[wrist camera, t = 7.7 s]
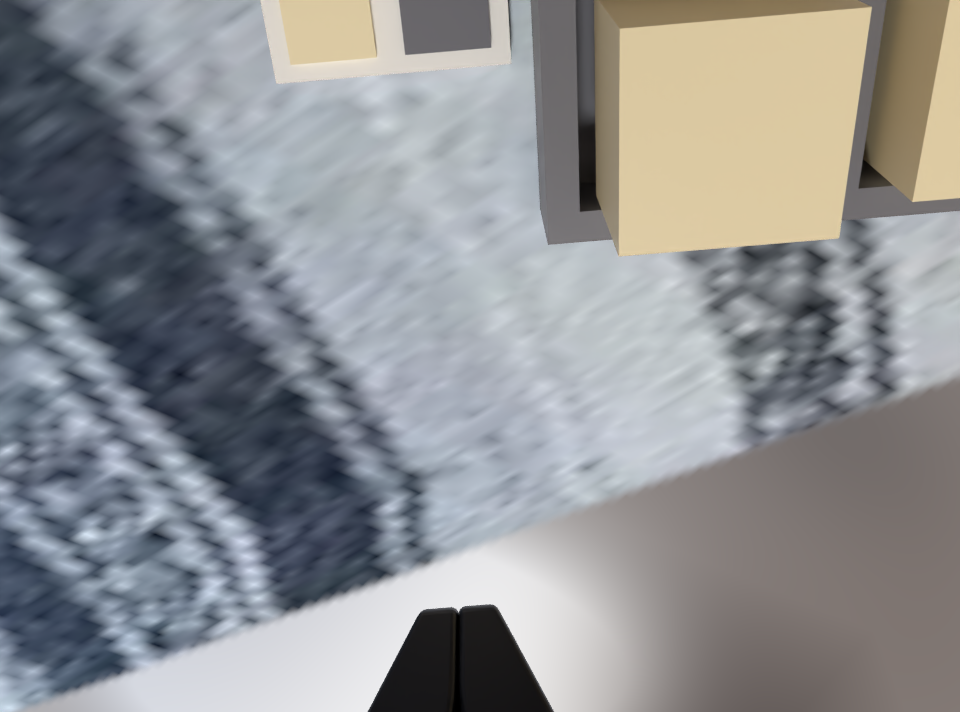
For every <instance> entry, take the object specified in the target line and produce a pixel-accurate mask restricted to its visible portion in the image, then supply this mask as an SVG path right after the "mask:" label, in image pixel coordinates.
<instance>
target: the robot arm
mask: <svg viewBox="0 0 960 712" xmlns="http://www.w3.org/2000/svg"><path fill="white" fill-rule="evenodd" d="M368 712H554V711H553V709H552V707H551V705H550V704H549V702H548V700H547V698H546V696H545V694H544V693H543V691H542V689H541V687H540V685H539V683H538V681H537V680H536V678H535V676H534V674H533V672H532V670H531V669H530V667H529V665H528V663H527V661H526V659H525V657H524V656H523V654H522V652H521V650H520V648H519V646H518V645H517V643H516V641H515V639H514V637H513V635H512V633H511V632H510V630H509V628H508V626H507V624H506V622H505V621H504V619H503V617H502V615H501V613H500V611H499V610H498V608H497V607H496V606H494V605H476V606H465V607H462V609H460V611H459V613H458V611H457V610H456V609H454V608H452V607H451V608H438V609H426V610H423V611H422V612H421V613H420V614H419V615H418V617H417V618H416V620H415V622H414V624H413V626H412V628H411V630H410V632H409V634H408V636H407V638H406V639H405V642H404V644H403V645H402V647H401V649H400V651H399V653H398V655H397V657H396V659H395V661H394V662H393V664H392V667H391V668H390V670H389V672H388V674H387V676H386V678H385V680H384V682H383V684H382V685H381V687H380V689H379V691H378V693H377V695H376V697H375V699H374V701H373V703H372V705H371V707H370V709H369V710H368Z"/></svg>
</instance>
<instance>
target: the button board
mask: <svg viewBox="0 0 960 712" xmlns="http://www.w3.org/2000/svg"><path fill="white" fill-rule="evenodd" d="M859 1H861V2H863V3H865V4H867V5H869V6H871V7H872V10H871V17H870V24H869V31H868V38H867V45H866V52H865V59H864V66H863V73H862V80H861V87H860V94H859V101H858V108H857V115H856V122H855V129H854V136H853V143H852V150H851V157H850V164H849V171H848V178H847V185H846V192H845V199H844V206H843V213H842V220H853V219H865V218H877V217H889V216H901V215H914V214H926V213H938V212H950V211H960V198H955V199H943V200H931V201H919V202H912V201H911V200H909V199H908V198H907V197H906V196H905V195H904V194H903V193H901V192H900V191H899V190H898V189H897V188H896V187H895V186H893V185H892V184H891V183H890V182H889V181H888V180H887V179H885V178H884V177H883V176H882V175H881V174H880V173H879V172H877V171H876V170H875V169H874V168H873V167H872V166H871V165H869V164H868V163H867V162H866V161H865V160H864V159H863V155H864V148H865V141H866V135H867V128H868V121H869V115H870V108H871V101H872V95H873V88H874V81H875V75H876V68H877V61H878V55H879V48H880V42H881V35H882V28H883V22H884V15H885V8H886V2H887V0H859ZM531 14H532V37H533V59H534V81H535V104H536V126H537V148H538V171H539V193H540V210H541V215H542V219H543V224H544V228H545V233H546V237H547V242H548V245H550V244H562V243H574V242H586V241H599V240H611V239H612V237H611V234H610V231H609V229H608V226H607V223H606V220H605V218H604V215H603V212H602V210H601V207H600V204H599V202H598V199H597V196H596V138H595V39H594V0H531Z"/></svg>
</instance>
